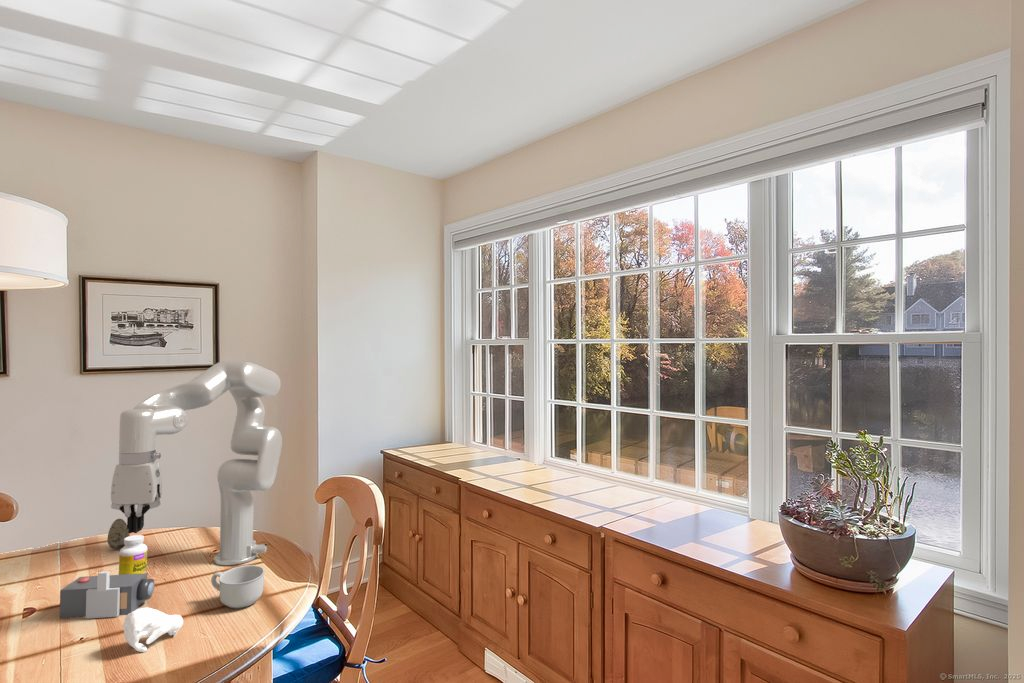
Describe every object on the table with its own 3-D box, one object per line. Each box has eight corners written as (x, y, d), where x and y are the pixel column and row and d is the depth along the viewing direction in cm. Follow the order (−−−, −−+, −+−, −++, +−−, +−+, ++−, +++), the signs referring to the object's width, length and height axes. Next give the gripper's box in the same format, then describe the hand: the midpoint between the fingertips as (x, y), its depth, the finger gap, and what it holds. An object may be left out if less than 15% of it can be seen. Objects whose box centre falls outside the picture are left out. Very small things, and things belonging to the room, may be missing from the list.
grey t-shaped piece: (119, 614, 136) (120, 570, 136) (116, 617, 135) (117, 572, 135) (88, 616, 135) (89, 571, 135) (85, 619, 133) (86, 574, 134)
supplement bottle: (132, 588, 151) (133, 542, 151) (112, 586, 152) (113, 540, 152) (152, 579, 157) (153, 534, 158) (133, 576, 159) (134, 532, 159)
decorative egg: (131, 548, 181) (132, 518, 181) (109, 553, 176) (110, 522, 176) (126, 544, 184) (127, 514, 185) (105, 549, 180) (105, 518, 180)
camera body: (156, 599, 145) (157, 570, 145) (141, 613, 137) (142, 583, 137) (79, 603, 142) (80, 574, 142) (59, 618, 134) (60, 587, 134)
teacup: (272, 597, 147) (273, 568, 147) (240, 616, 136) (241, 584, 136) (233, 589, 151) (233, 561, 151) (199, 607, 141) (199, 576, 141)
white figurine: (121, 608, 121) (179, 594, 131) (116, 648, 121) (174, 631, 130) (132, 617, 118) (191, 602, 127) (127, 658, 117) (186, 640, 127)
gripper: (176, 454, 142) (174, 525, 141) (112, 456, 139) (110, 527, 139) (162, 460, 134) (161, 535, 134) (95, 462, 132) (93, 538, 131)
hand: (135, 531), depth 136 cm, fingers closed
